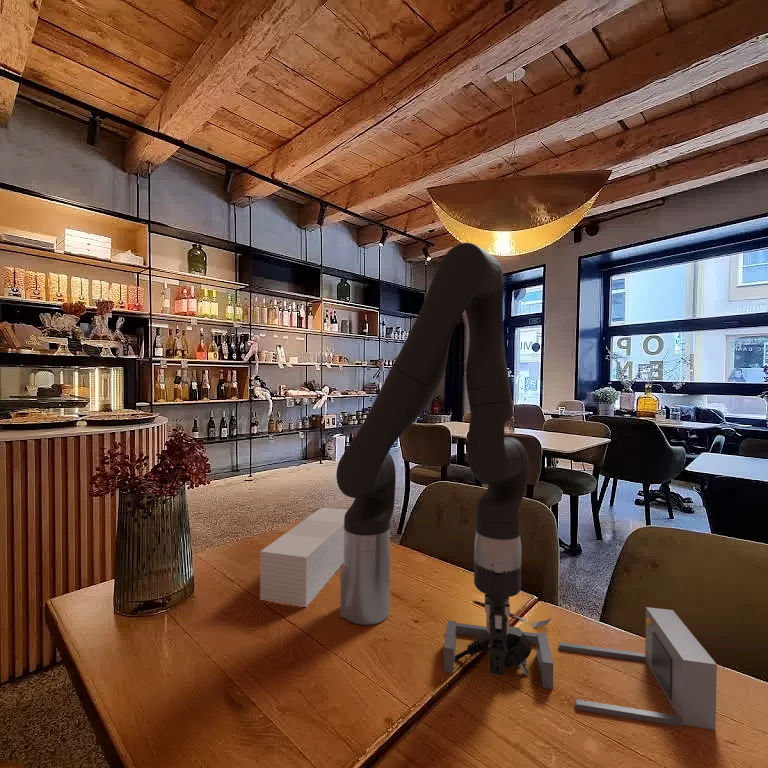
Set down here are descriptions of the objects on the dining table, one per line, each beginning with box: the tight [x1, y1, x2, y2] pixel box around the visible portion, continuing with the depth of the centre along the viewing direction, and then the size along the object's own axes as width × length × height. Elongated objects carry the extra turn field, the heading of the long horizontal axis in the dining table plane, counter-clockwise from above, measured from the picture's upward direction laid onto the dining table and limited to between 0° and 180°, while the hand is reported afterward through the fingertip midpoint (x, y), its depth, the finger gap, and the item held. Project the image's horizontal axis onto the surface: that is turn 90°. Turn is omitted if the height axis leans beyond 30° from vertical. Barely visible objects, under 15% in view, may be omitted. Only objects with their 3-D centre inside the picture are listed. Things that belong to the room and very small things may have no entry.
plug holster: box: [443, 620, 554, 690], centre depth 74 cm, size 17×12×4 cm
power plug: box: [455, 625, 532, 676], centre depth 72 cm, size 6×8×12 cm
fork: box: [472, 600, 552, 629], centre depth 87 cm, size 3×16×2 cm, turn 51°
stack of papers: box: [259, 507, 348, 608], centre depth 106 cm, size 32×11×11 cm, turn 165°
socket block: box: [558, 606, 718, 731], centre depth 68 cm, size 18×15×9 cm
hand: (496, 656), depth 72 cm, fingers open, 8 cm apart
